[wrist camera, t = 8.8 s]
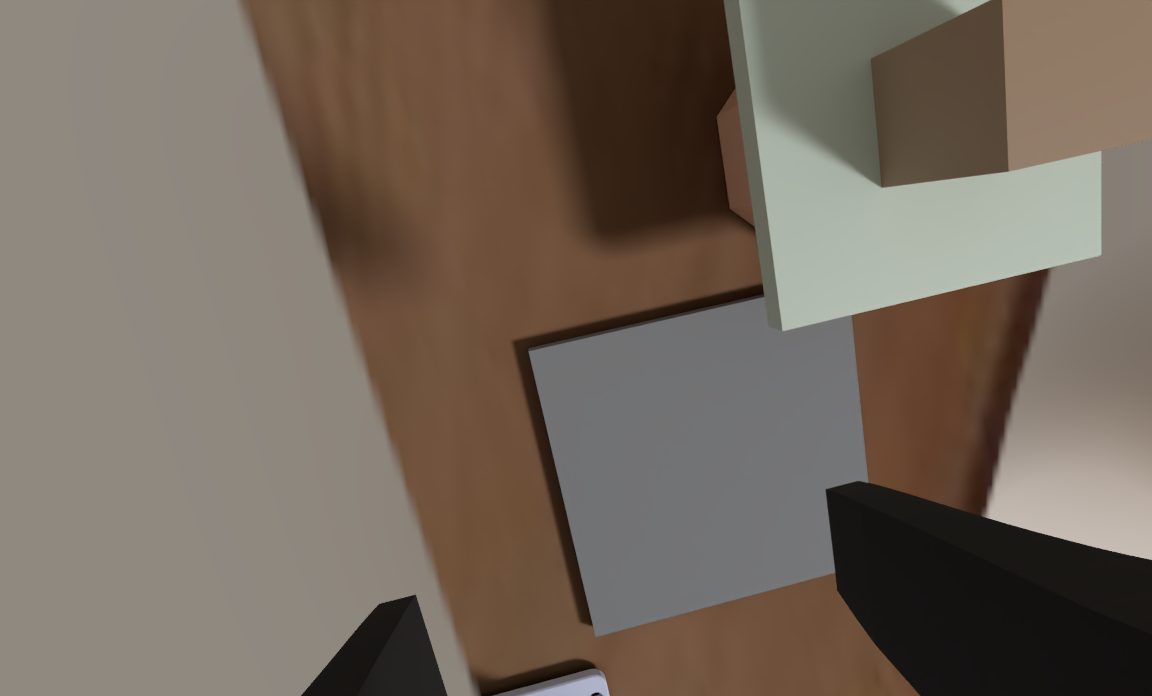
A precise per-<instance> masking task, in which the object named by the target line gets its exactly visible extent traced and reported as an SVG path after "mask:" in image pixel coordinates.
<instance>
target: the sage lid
mask: <svg viewBox="0 0 1152 696" xmlns="http://www.w3.org/2000/svg"><path fill="white" fill-rule="evenodd" d="M724 7H725V14H726V21H727V28H728V36H729V43H730V50H731V57H732V65H733V72H734V79H735V86H736V94H737V101H738V108H739V115H740V123H741V130H742V137H743V144H744V152H745V159H746V166H747V173H748V181H749V188H750V195H751V202H752V210H753V217H754V224H755V231H756V239H757V246H758V253H759V260H760V268H761V275H762V282H763V290H764V297H765V304H766V311H767V319H768V326H769V327H772V328H775V329H778V330H780V331H786V330H790V329H794V328H799V327H803V326H807V325H811V324H815V323H820V322H824V321H828V320H832V319H836V318H840V317H845V316H849V315H853V314H857V313H861V312H866V311H870V310H874V309H878V308H882V307H887V306H891V305H895V304H899V303H903V302H907V301H912V300H916V299H920V298H924V297H928V296H933V295H937V294H941V293H945V292H949V291H954V290H958V289H962V288H966V287H970V286H974V285H979V284H983V283H987V282H991V281H995V280H1000V279H1004V278H1008V277H1012V276H1016V275H1021V274H1025V273H1029V272H1033V271H1037V270H1041V269H1046V268H1050V267H1054V266H1058V265H1062V264H1067V263H1070V262H1075V261H1079V260H1083V259H1088V258H1092V257H1096V256H1100V255H1101V151H1103V150H1107V149H1112V148H1116V147H1120V146H1125V145H1130V144H1134V143H1138V142H1143V141H1148V140H1152V0H724Z"/></svg>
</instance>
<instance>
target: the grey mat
mask: <svg viewBox="0 0 1152 696" xmlns="http://www.w3.org/2000/svg"><path fill="white" fill-rule="evenodd" d="M528 351H529V356H530V360H531V364H532V368H533V373H534V377H535V381H536V385H537V390H538V394H539V398H540V402H541V407H542V411H543V415H544V419H545V424H546V428H547V432H548V436H549V441H550V445H551V449H552V453H553V458H554V462H555V466H556V470H557V475H558V479H559V483H560V487H561V492H562V496H563V500H564V504H565V509H566V513H567V517H568V521H569V526H570V530H571V534H572V538H573V543H574V547H575V551H576V555H577V560H578V564H579V568H580V572H581V577H582V581H583V585H584V589H585V594H586V598H587V602H588V606H589V611H590V615H591V619H592V623H593V628H594V632H595V636H596V637H598V636H601V635H605V634H609V633H612V632H616V631H620V630H624V629H627V628H631V627H635V626H639V625H642V624H646V623H650V622H653V621H657V620H661V619H665V618H668V617H672V616H676V615H679V614H683V613H687V612H691V611H694V610H698V609H702V608H706V607H709V606H713V605H717V604H720V603H724V602H728V601H732V600H735V599H739V598H743V597H746V596H750V595H754V594H758V593H761V592H765V591H769V590H773V589H776V588H780V587H784V586H787V585H791V584H795V583H799V582H802V581H806V580H810V579H813V578H817V577H821V576H825V575H828V574H832V573H835V566H834V557H833V549H832V541H831V532H830V524H829V515H828V507H827V499H826V490H825V489H828V488H832V487H836V486H840V485H844V484H848V483H852V482H855V481H862V482H866V483H868V476H867V466H866V456H865V446H864V436H863V426H862V417H861V407H860V397H859V387H858V377H857V367H856V357H855V347H854V337H853V327H852V317H851V315H849V316H845V317H840V318H836V319H832V320H828V321H824V322H820V323H815V324H811V325H807V326H803V327H799V328H794V329H790V330H786V331H780V330H778V329H775V328H772V327H769V326H768V319H767V311H766V304H765V297H764V294H762V295H758V296H753V297H749V298H745V299H740V300H736V301H732V302H727V303H723V304H718V305H714V306H710V307H705V308H701V309H697V310H692V311H688V312H684V313H679V314H675V315H671V316H666V317H662V318H658V319H653V320H649V321H645V322H640V323H636V324H632V325H627V326H623V327H618V328H614V329H610V330H605V331H601V332H597V333H592V334H588V335H584V336H579V337H575V338H571V339H566V340H562V341H558V342H553V343H549V344H545V345H540V346H536V347H532V348H528Z"/></svg>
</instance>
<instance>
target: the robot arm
mask: <svg viewBox="0 0 1152 696" xmlns="http://www.w3.org/2000/svg"><path fill="white" fill-rule="evenodd" d="M825 490H826V499H827V507H828V515H829V524H830V532H831V541H832V549H833V557H834V566H835V574H836V583H837V591H838V592H839V594H840V595H841V597H842V598H843V599H844V601H845V602H846V604H847V605H848V607H849V608H850V610H851V611H852V613H853V614H854V616H855V617H856V619H857V620H858V621H859V623H860V624H861V625H862V627H863V628H864V630H865V631H866V632H867V634H868V635H869V636H870V638H871V639H872V641H873V642H874V643H875V645H876V646H877V647H878V648H879V649H880V650H881V652H882V653H883V654H884V655H885V656H886V657H887V658H888V660H889V661H890V662H891V663H892V664H893V665H894V666H895V667H896V669H897V670H898V671H899V672H900V673H901V674H902V675H903V677H904V678H905V679H906V680H907V681H908V682H909V683H910V684H911V686H912V687H913V688H914V689H915V690H916V691H917V692H918V693H919V694H920V696H1152V560H1149V559H1144V558H1139V557H1135V556H1130V555H1125V554H1121V553H1117V552H1112V551H1108V550H1103V549H1099V548H1095V547H1091V546H1087V545H1083V544H1080V543H1076V542H1071V541H1068V540H1064V539H1060V538H1057V537H1053V536H1049V535H1045V534H1041V533H1037V532H1034V531H1030V530H1027V529H1023V528H1020V527H1016V526H1012V525H1008V524H1005V523H1002V522H998V521H995V520H992V519H988V518H985V517H982V516H978V515H975V514H972V513H968V512H965V511H962V510H959V509H955V508H952V507H949V506H946V505H942V504H939V503H936V502H933V501H929V500H926V499H923V498H920V497H917V496H913V495H910V494H907V493H903V492H900V491H897V490H893V489H890V488H886V487H883V486H879V485H875V484H871V483H866V482H862V481H855V482H852V483H848V484H844V485H840V486H836V487H832V488H828V489H825ZM596 692H599V693H600V694H598V695H597V696H610V695H609V691H608V687H607V682H606V678H605V675H604V673H603V672H602V671H600V670H598V669H589V670H585V671H581V672H578V673H574V674H570V675H567V676H563V677H559V678H556V679H552V680H548V681H545V682H541V683H537V684H534V685H530V686H526V687H523V688H519V689H515V690H512V691H508V692H504V693H501V694H497V695H493V696H592V695H591V694H593V693H596ZM301 696H447V693H446V690H445V687H444V684H443V680H442V677H441V674H440V671H439V668H438V664H437V661H436V658H435V655H434V652H433V649H432V645H431V642H430V639H429V636H428V633H427V629H426V627H425V623H424V620H423V617H422V613H421V610H420V607H419V604H418V601H417V597H416V595H413V596H409V597H405V598H401V599H397V600H393V601H389V602H385V603H382V604H379V605H378V606H377V607H376V608H375V609H374V610H373V611H372V612H371V614H370V615H369V616H368V617H367V618H366V619H365V620H364V621H363V623H362V624H361V625H360V626H359V627H358V629H357V630H356V631H355V632H354V633H353V635H352V636H351V637H350V638H349V639H348V641H347V642H346V643H345V644H344V645H343V647H342V648H341V649H340V650H339V651H338V653H337V654H336V655H335V656H334V658H333V659H332V660H331V661H330V662H329V663H328V665H327V666H326V667H325V668H324V669H323V670H322V672H321V673H320V674H319V675H318V677H317V678H316V679H315V680H314V681H313V682H312V684H311V685H310V686H309V687H308V688H307V689H306V691H305V692H304V693H303V694H302V695H301Z"/></svg>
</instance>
